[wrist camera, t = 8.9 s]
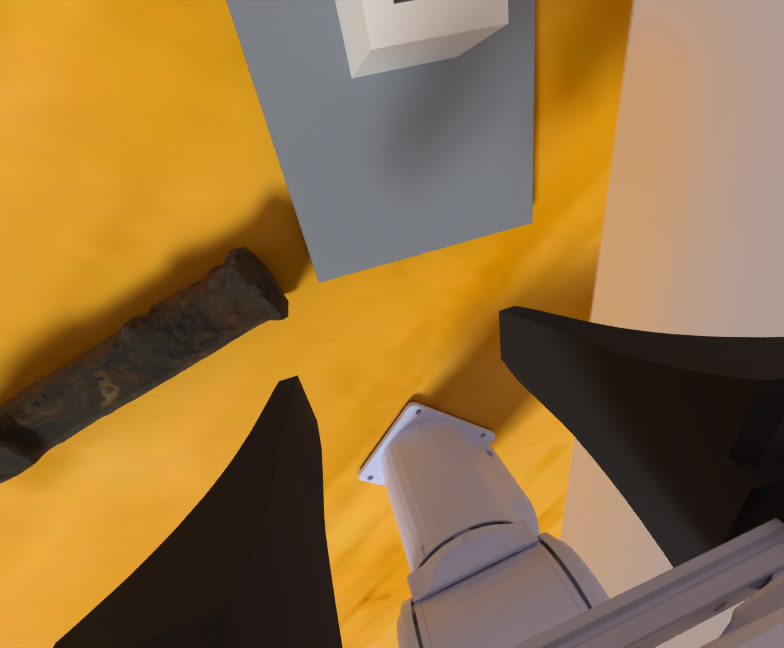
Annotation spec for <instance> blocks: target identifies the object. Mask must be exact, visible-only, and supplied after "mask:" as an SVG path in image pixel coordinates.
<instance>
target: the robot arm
mask: <svg viewBox="0 0 784 648" xmlns="http://www.w3.org/2000/svg"><path fill="white" fill-rule="evenodd" d="M499 322H500V347H501V359H502V360H503V362H504V363H505V364H506V366H507V367H508V368H509V370H510V371H511V372H512V373H513V375H514V376H515V377H516V378H517V380H518V381H519V382H520V383H521V384H522V385H523V386H524V387H525V388H526V389H527V390H528V391H529V392H530V393H531V394H532V395H534V396H535V397H536V398H537V399H538V400H539V401H540V402H541V403H542V404H543V405H544V406H545V407H546V408H547V409H548V410H549V411H550V412H551V413H552V414H553V415H554V416H555V417H556V418H557V419H558V420H559V421H560V422H562V423H563V424H564V426H565V427H566V428H567V429H568V430H569V431H570V432H571V433H572V434H573V435H574V436H575V437H576V439H577V440H578V441H579V442H580V443H581V444H582V446H583V447H584V448H585V449H586V450H587V452H588V453H589V454H590V455H591V456H592V457H593V459H594V460H595V461H596V462H597V464H598V465H599V466H600V467H601V469H602V470H603V471H604V472H605V474H606V475H607V476H608V477H609V479H610V480H611V481H612V482H613V484H614V485H615V486H616V488H617V489H618V490H619V491H620V493H621V494H622V496H623V497H624V498H625V499H626V501H627V502H628V504H629V505H630V506H631V508H632V509H633V510H634V512H635V513H636V514H637V516H638V517H639V518H640V520H641V521H642V522H643V524H644V525H645V527H646V528H647V530H648V531H649V532H650V534H651V535H652V537H653V538H654V539H655V541H656V543H657V544H658V545H659V547H660V548H661V550H662V551H663V552H664V554H665V556H666V557H667V558H668V560H669V561H670V563H671V565H672V566H673V569H671V570H669V571H667V572H665V573H663V574H660V575H659V576H656V577H654V578H652V579H650V580H648V581H646V582H644V583H642V584H640V585H638V586H636V587H634V588H632V589H630V590H628V591H626V592H624V593H622V594H620V595H618V596H616V597H613V598H612V599H610V598H609V597H608V595H607V594H606V592H605V591H604V589H603V588H602V586H601V585H600V583H599V582H598V580H597V579H596V577H595V576H594V575H593V573H592V572H591V571H590V569H589V568H588V567H587V566H586V564H585V563H584V562H583V561H582V559H581V558H580V557H579V556H578V555H577V554H576V553H575V551H574V550H573V549H572V548H571V547H570V546H568V545H567V544H566V543H564V542H563V541H561V540H559V539H557V538H555V537H554V536H552V535H551V534H548V533H541V534H539V527H538V521H537V517H536V514H535V511H534V508H533V506H532V504H531V502H530V500H529V499H528V497H527V496H526V495H525V493H524V492H523V490H522V489H521V488H520V486H519V485H518V483H517V482H516V480H515V479H514V478H513V476H512V475H511V473H510V472H509V471H508V469H507V468H506V466H505V465H504V463H503V462H502V461H501V459H500V458H499V456H498V455H497V454H496V452H495V451H494V449H493V448H492V446H491V445H490V444H491V443H492V442H493V440H494V439H495V437H496V436H495V434H494V432H493V431H491V430H488V429H485V428H483V427H480V426H477V425H475V424H472V423H469V422H467V421H464V420H462V419H459V418H456V417H454V416H451V415H448V414H446V413H443V412H440V411H438V410H435V409H433V408H430V407H427V406H425V405H422V404H419V403H417V402H411V403H409V404H408V405H407V406H406V407H405V409H404V410H403V411H402V413H401V414H400V416H399V417H398V418H397V420H396V421H395V423H394V424H393V425H392V427H391V428H390V430H389V431H388V432H387V434H386V435H385V436H384V438H383V439H382V441H381V442H380V443H379V445H378V446H377V448H376V449H375V450H374V452H373V453H372V455H371V456H370V457H369V459H368V460H367V461H366V463H365V464H364V466H363V467H362V468H361V470H360V471H359V473H358V476H359V479H360V480H362V481H366V482H371V483H375V484H380V485H384V486H386V488H387V492H388V495H389V499H390V502H391V506H392V509H393V512H394V516H395V519H396V523H397V526H398V530H399V533H400V537H401V540H402V544H403V547H404V551H405V554H406V557H407V561H408V564H409V568H410V571H411V574H410V575H408V576H407V580H408V584H409V587H410V591H411V595H412V598H413V599H412V598H410V599H408V600H406V601H404V602H403V603H402V605H401V612H400V615H399V618H398V621H397V636H398V644H399V648H655V647H656V646H658V645H660V644H662V643H664V642H666V641H668V640H670V639H672V638H673V637H675V636H677V635H679V634H681V633H683V632H685V631H687V630H688V629H690V628H692V627H694V626H696V625H698V624H700V623H702V622H704V621H706V620H708V619H709V618H711V617H713V616H715V615H717V614H719V613H721V612H723V611H725V610H726V609H728V608H730V607H732V606H734V605H736V604H738V603H740V602H742V601H744V600H745V599H747V598H748V599H747V600H746V601H744V602H743V603H742V604H740V605H739V606H738V607H736V608H735V609H734V612H733V615H732V618H731V621H730V623H729V624H728V626H727V627H726V628H725V630H724V631H723V633H722V634H721V636H720V637H719V638H717V639H715V640H713V641H711V642H709V643H707V644H705V645H703V646H701V647H699V648H784V337H761V338H760V337H711V336H709V337H708V336H692V335H678V334H665V333H655V332H647V331H639V330H632V329H625V328H618V327H612V326H607V325H601V324H596V323H591V322H587V321H582V320H577V319H573V318H568V317H564V316H560V315H555V314H551V313H547V312H543V311H538V310H534V309H529V308H524V307H517V306H513V307H510V308H507V309H504V310H501V311H499ZM419 409H420V410H419ZM417 410H419V411H417ZM370 475H371V476H370ZM749 597H750V598H749ZM53 648H342V642H341V635H340V629H339V623H338V617H337V610H336V604H335V597H334V590H333V583H332V577H331V570H330V563H329V555H328V548H327V540H326V533H325V520H324V497H323V469H322V448H321V442H320V435H319V430H318V424H317V420H316V418H315V415H314V413H313V411H312V408H311V406H310V404H309V401H308V399H307V396H306V394H305V392H304V389H303V387H302V385H301V382H300V380H299V378H298V376H295V377H291V378H288V379H285V380H282V381H279V382H278V384H277V386H276V387H275V389H274V391H273V393H272V395H271V396H270V398H269V400H268V402H267V404H266V406H265V407H264V409H263V411H262V413H261V415H260V416H259V418H258V420H257V422H256V423H255V425H254V427H253V429H252V430H251V432H250V434H249V435H248V437H247V438H246V440H245V441H244V443H243V444H242V446H241V448H240V449H239V451H238V452H237V454H236V455H235V457H234V458H233V460H232V461H231V462H230V464H229V465H228V467H227V468H226V469H225V471H224V472H223V473H222V475H221V476H220V477H219V478H218V480H217V481H216V482H215V484H214V485H213V486H212V487H211V489H210V490H209V491H208V492H207V494H206V495H205V496H204V497H203V498H202V499H201V501H200V502H199V503H198V504H197V505H196V506H195V507H194V509H193V510H192V511H191V512H190V513H189V514H188V515H187V517H186V518H185V519H184V520H183V521H182V522H181V523H180V525H179V526H178V527H177V528H176V529H175V530H174V531H173V532H172V533H171V534H170V535H169V537H168V538H167V539H166V540H165V541H164V542H163V543H162V544H161V545H160V546H159V547H158V548H157V549H156V550H155V551H154V552H153V553H152V554H151V555H150V556H149V557H148V558H147V559H146V560H145V561H144V562H143V563H142V564H141V565H140V566H139V567H138V568H137V569H136V570H135V571H134V572H133V573H132V574H131V575H130V576H129V577H128V578H127V579H126V580H125V581H124V582H123V583H121V584H120V585H119V586H118V587H117V588H116V589H115V590H114V591H113V592H112V593H111V594H110V595H108V596H107V597H106V598H105V599H104V600H103V601H102V602H101V603H100V604H99V605H97V606H96V607H95V608H94V609H93V610H92V611H91V612H90V613H89V614H88V615H86V616H85V617H84V618H83V619H82V620H81V621H80V622H79V623H78V624H77V625H75V626H74V627H73V628H72V629H71V630H70V631H69V632H68V633H67V634H65V635H64V636H63V637H62V638H61V639H60V640H59V641H57V642H56V643H55V645H54V647H53Z"/></svg>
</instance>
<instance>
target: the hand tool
mask: <svg viewBox="0 0 784 648" xmlns="http://www.w3.org/2000/svg"><path fill="white" fill-rule="evenodd" d="M287 317H288V300H287V299H286V297H285V295H284V293H283V291H282V290H281V288H280V287H279V285H278V284H277V282H276V281H275V279H274V278H273V276H272V275H271V273H270V272H269V271H268V269H267V268H266V267H265V266H264V264H263V263H262V262H261V261H260V260H259V259H258V258H257V257H256V256H255V255H254V254H252V253H251V252H250V251H248V250H247V249H246V248H244V247H242V248H239V249H238V248H235V249H233V250H231V251H230V252H229V254H228V256H227V258H226V260H225V262H224V264H223V265H220V266H215V267H213V268H212V269H211V270H210V272H209V274H208V276H207V277H206V278H204V279H203V280H201V281H198V282H196V283H194V284H192V285H191V286H189V287H187V288H186V289H183V290H180V291H178V292H177V293H175V294H174V295H172V297H171V298H170V299H167V300H164V301H162V302H160V303H157V304H156V305H154V306H152V307H151V311H150V312H148V313H146V314H144V315H142V316H138V317H134V318H132V319H130V320H129V321H128V322H127V323H126V324H125V325H124V326H123V328H122V330H120V331H118V332H117V333H115V334H114V335H112V336H111V337H109V338H107V339H106V340H104V341H103V342H101V343H100V344H98V345H97V346H95V347H93V348H92V349H90V350H89V351H87V352H86V353H84V354H83V355H81V356H79V357H77V358H75V359H74V360H72V361H70V362H69V363H67V364H66V365H64V366H63V367H61V368H59V369H58V370H56V371H55V372H53V373H52V374H50V375H48V376H47V377H45V378H44V379H42V380H41V381H39V382H36V383H35V384H33V385H31V386H30V387H28V388H26V389H25V390H23V391H22V392H20V393H19V394H17V395H15V396H14V397H12V398H11V399H9V400H8V401H7V402H6V403H5V404H4V405H2V406H1V407H0V483H2V482H5V481H7V480H9V479H11V478H13V477H15V476H17V475H19V474H20V473H22V472H23V471H25V470H26V469H28V468H29V467H31V466H32V465H34V464H35V463H36V462H37V461H38V460H39V459H40V458H41V457H42V456H43V455H44V454H45V453H46V452H47V451H48V450H49V449H51V448H52V447H54V446H56V445H58V444H60V443H62V442H64V441H65V440H67V439H68V438H70V437H72V436H73V435H75V434H76V433H78V432H79V431H81V430H82V429H84V428H86V427H87V426H89V425H91V424H92V423H94V422H95V421H96V420H98V419H100V418H102V417H104V416H106V415H109V414H110V413H112V412H113V411H115V410H117V409H118V408H120V407H122V406H123V405H125V404H127V403H129V402H131V401H133V400H135V399H136V398H138V397H140V396H142V395H143V394H145V393H147V392H148V391H150V390H152V389H153V388H155V387H157V386H158V385H160V384H162V383H164V382H165V381H167V380H169V379H171V378H172V377H174V376H176V375H177V374H179V373H180V372H182V371H184V370H185V369H187V368H189V367H191V366H192V365H194V364H195V363H197V362H199V361H200V360H202V359H204V358H206V357H208V356H209V355H211V354H213V353H214V352H216V351H217V350H219V349H220V348H222V347H223V346H225V345H227V344H228V343H230V342H231V341H233V340H234V339H236V338H238V337H240V336H241V335H243V334H244V333H246V332H248V331H250V330H251V329H253V328H255V327H256V326H258V325H260V324H262V323H264V322H266V321H268V320H284V319H285V318H287Z"/></svg>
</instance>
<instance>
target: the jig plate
mask: <svg viewBox="0 0 784 648" xmlns="http://www.w3.org/2000/svg"><path fill="white" fill-rule="evenodd" d="M226 1H227V4H228V7H229V10H230V13H231V16H232V19H233V22H234V25H235V28H236V31H237V34H238V37H239V40H240V43H241V46H242V49H243V53H244V56H245V59H246V62H247V65H248V68H249V71H250V74H251V77H252V80H253V83H254V86H255V89H256V92H257V95H258V98H259V101H260V105H261V108H262V111H263V114H264V117H265V120H266V123H267V126H268V129H269V132H270V135H271V138H272V141H273V144H274V147H275V150H276V153H277V156H278V160H279V163H280V166H281V169H282V172H283V175H284V178H285V181H286V184H287V187H288V190H289V193H290V196H291V199H292V202H293V205H294V208H295V212H296V215H297V218H298V221H299V224H300V227H301V230H302V233H303V236H304V239H305V242H306V245H307V248H308V251H309V254H310V257H311V260H312V264H313V267H314V270H315V273H316V276H317V279H318V282H323V281H326V280H330V279H333V278H337V277H341V276H344V275H348V274H351V273H355V272H358V271H362V270H366V269H369V268H373V267H376V266H380V265H383V264H387V263H390V262H394V261H398V260H401V259H405V258H408V257H412V256H415V255H419V254H423V253H426V252H430V251H433V250H437V249H440V248H444V247H448V246H451V245H455V244H458V243H462V242H465V241H469V240H473V239H476V238H480V237H483V236H487V235H490V234H494V233H497V232H501V231H505V230H508V229H512V228H515V227H519V226H522V225H526V224H530V223H532V210H533V139H534V68H535V0H508V24H507V25H505V26H504V27H502V28H501V29H499V30H498V31H496V32H495V33H493V34H492V35H490V36H488V37H487V38H485V39H484V40H482V41H481V42H479V43H478V44H476V45H475V46H473V47H472V48H470V49H469V50H467V51H466V52H464V53H463V54H461V55H460V56H458V57H454V58H450V59H445V60H440V61H435V62H430V63H425V64H420V65H415V66H410V67H405V68H400V69H396V70H391V71H386V72H381V73H376V74H371V75H366V76H361V77H356V78H352V77H351V73H350V68H349V63H348V59H347V54H346V49H345V45H344V40H343V35H342V31H341V26H340V21H339V17H338V12H337V7H336V3H335V0H226ZM393 1H394V4H396V3H402V2H407V1H413V0H393Z"/></svg>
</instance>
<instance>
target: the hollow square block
mask: <svg viewBox="0 0 784 648" xmlns="http://www.w3.org/2000/svg"><path fill="white" fill-rule="evenodd" d="M335 3H336V7H337V12H338V17H339V21H340V26H341V31H342V35H343V40H344V45H345V49H346V54H347V59H348V63H349V68H350V73H351V77H352V78H356V77H361V76H366V75H371V74H376V73H381V72H386V71H391V70H396V69H400V68H405V67H410V66H415V65H420V64H425V63H430V62H435V61H440V60H445V59H450V58H454V57H458V56H460V55H461V54H463V53H464V52H466V51H467V50H469V49H470V48H472V47H473V46H475V45H476V44H478V43H479V42H481V41H482V40H484V39H485V38H487V37H488V36H490V35H492V34H493V33H495V32H496V31H498V30H499V29H501V28H502V27H504V26H505V25H507V24H508V0H413V1H407V2H402V3H396V4H394V1H393V0H335Z"/></svg>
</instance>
